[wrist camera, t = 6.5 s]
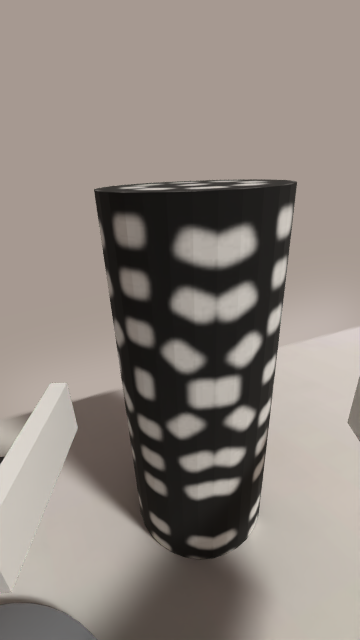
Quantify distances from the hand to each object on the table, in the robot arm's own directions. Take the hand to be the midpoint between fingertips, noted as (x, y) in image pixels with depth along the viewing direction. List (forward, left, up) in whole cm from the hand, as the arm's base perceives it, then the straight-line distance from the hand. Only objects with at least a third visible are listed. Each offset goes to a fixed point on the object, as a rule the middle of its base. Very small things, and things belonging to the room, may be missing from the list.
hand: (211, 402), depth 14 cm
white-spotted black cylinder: (-2, +3, -11) cm, 12 cm away
